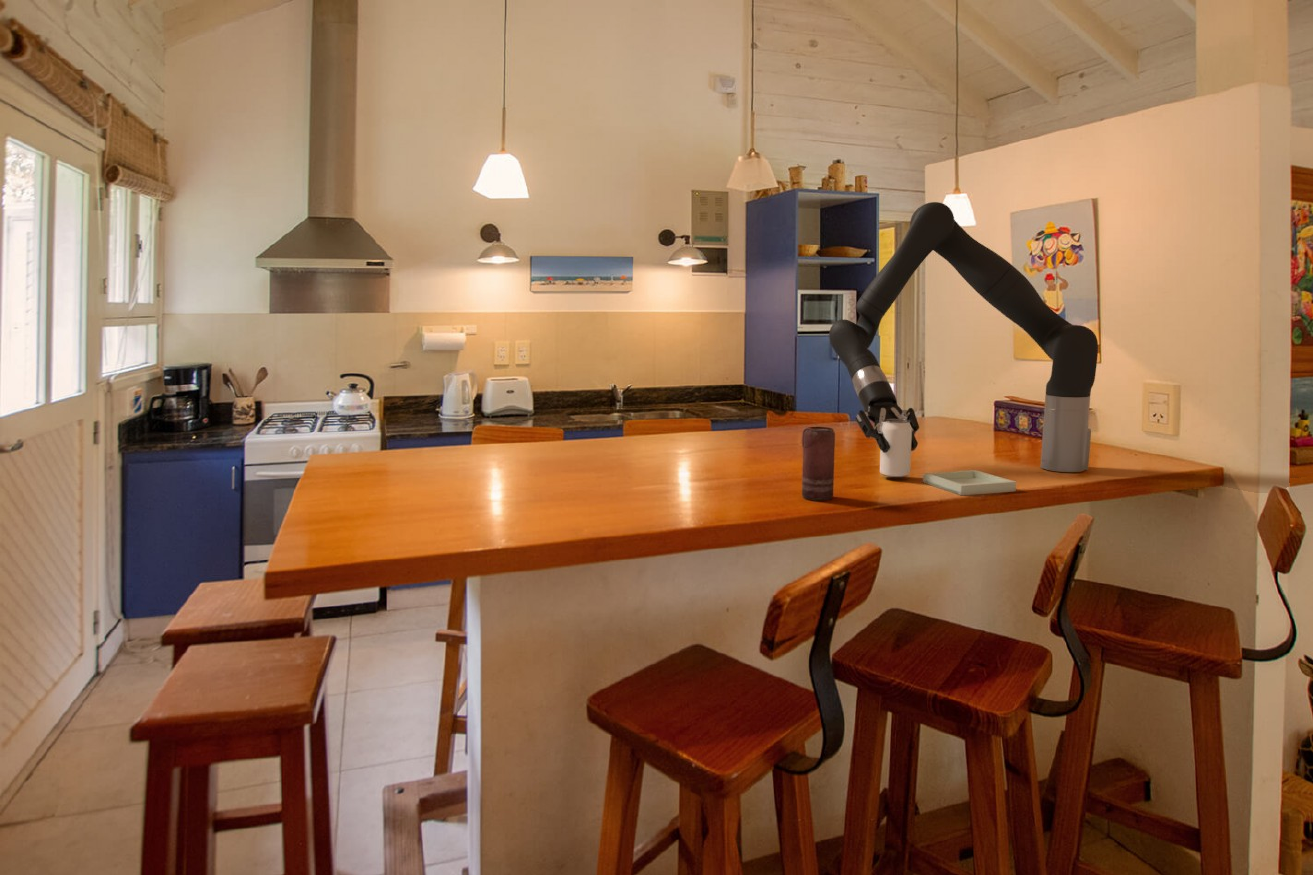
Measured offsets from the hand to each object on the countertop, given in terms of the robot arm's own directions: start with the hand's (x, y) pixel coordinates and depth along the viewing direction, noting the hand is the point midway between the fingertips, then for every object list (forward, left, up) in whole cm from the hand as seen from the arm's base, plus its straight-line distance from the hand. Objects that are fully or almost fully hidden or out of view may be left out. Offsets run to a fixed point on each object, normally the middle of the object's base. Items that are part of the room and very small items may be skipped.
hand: (900, 449), depth 177 cm
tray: (-10, +10, -7) cm, 16 cm away
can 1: (+25, +10, -7) cm, 28 cm away
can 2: (0, -2, -6) cm, 6 cm away
